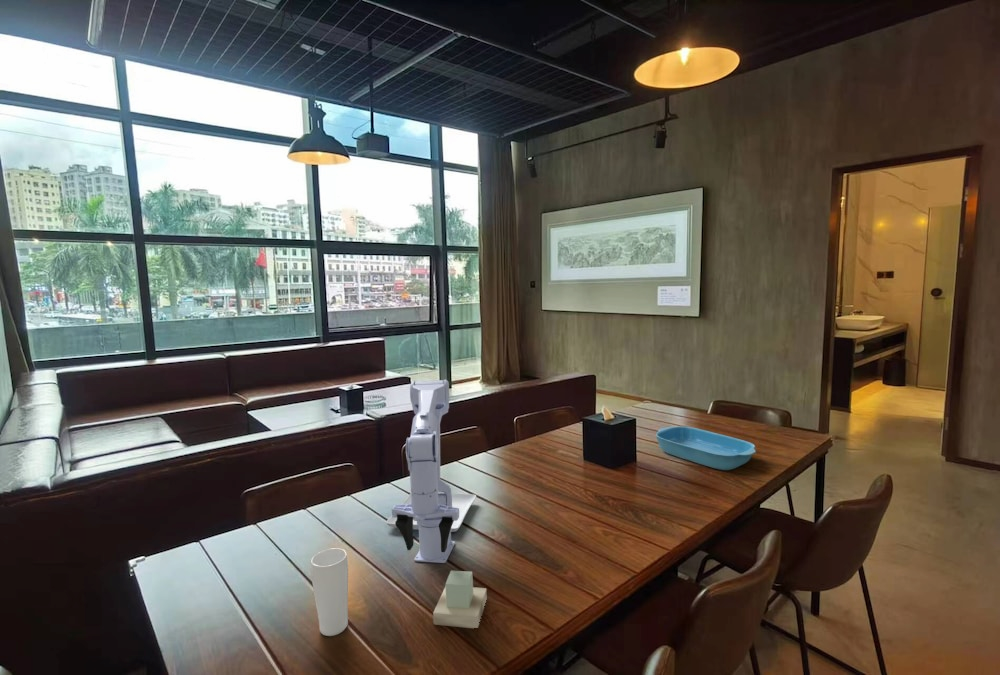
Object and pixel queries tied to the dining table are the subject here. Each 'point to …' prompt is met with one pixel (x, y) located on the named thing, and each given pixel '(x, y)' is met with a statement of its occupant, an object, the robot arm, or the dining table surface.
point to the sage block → (459, 589)
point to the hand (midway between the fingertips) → (427, 548)
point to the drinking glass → (331, 589)
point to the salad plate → (457, 502)
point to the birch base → (461, 611)
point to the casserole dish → (705, 447)
